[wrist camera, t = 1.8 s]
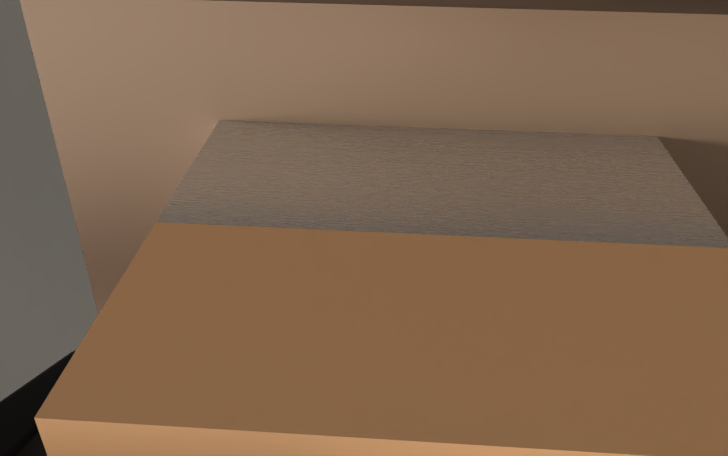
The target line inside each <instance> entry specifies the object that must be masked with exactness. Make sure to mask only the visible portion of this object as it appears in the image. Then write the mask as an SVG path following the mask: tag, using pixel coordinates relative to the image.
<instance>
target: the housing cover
mask: <svg viewBox="0 0 728 456" xmlns="http://www.w3.org/2000/svg"><path fill="white" fill-rule="evenodd" d="M34 419H35V422H36V425H37V428H38V430H39V433H40V436H41V439H42V442H43V445H44V448H45V450H46V453H47V456H728V248H717V247H695V246H672V245H650V244H628V243H606V242H584V241H562V240H540V239H518V238H496V237H473V236H451V235H429V234H407V233H385V232H363V231H341V230H319V229H297V228H274V227H252V226H230V225H208V224H186V223H164V222H156V223H155V224H154V226H153V227H152V229H151V231H150V232H149V234H148V235H147V237H146V239H145V240H144V242H143V243H142V245H141V247H140V248H139V250H138V251H137V253H136V255H135V256H134V258H133V260H132V261H131V263H130V264H129V266H128V268H127V269H126V271H125V272H124V274H123V276H122V277H121V279H120V280H119V282H118V284H117V285H116V287H115V289H114V290H113V292H112V293H111V295H110V297H109V298H108V300H107V301H106V303H105V305H104V306H103V308H102V309H101V311H100V313H99V314H98V316H97V317H96V319H95V321H94V322H93V324H92V326H91V327H90V329H89V330H88V332H87V334H86V335H85V337H84V338H83V340H82V342H81V343H80V345H79V346H78V348H77V350H76V351H75V353H74V355H73V356H72V358H71V359H70V361H69V363H68V364H67V366H66V367H65V369H64V371H63V372H62V374H61V375H60V377H59V379H58V380H57V382H56V383H55V385H54V387H53V388H52V390H51V392H50V393H49V395H48V396H47V398H46V400H45V401H44V403H43V404H42V406H41V408H40V409H39V411H38V412H37V414H36V416H35V417H34Z"/></svg>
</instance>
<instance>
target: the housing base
mask: <svg viewBox="0 0 728 456" xmlns="http://www.w3.org/2000/svg"><path fill="white" fill-rule="evenodd" d="M156 222H164V223H186V224H208V225H230V226H252V227H274V228H297V229H319V230H341V231H363V232H385V233H407V234H429V235H451V236H473V237H496V238H518V239H540V240H562V241H584V242H606V243H628V244H650V245H672V246H695V247H717V248H728V238H727V236H726V235H725V233H724V232H723V230H722V229H721V227H720V226H719V225H718V223H717V222H716V220H715V219H714V217H713V216H712V215H711V213H710V212H709V210H708V209H707V207H706V206H705V204H704V203H703V202H702V200H701V199H700V197H699V196H698V194H697V193H696V192H695V190H694V189H693V187H692V186H691V184H690V183H689V181H688V180H687V179H686V177H685V176H684V174H683V173H682V171H681V170H680V169H679V167H678V166H677V164H676V163H675V161H674V160H673V158H672V157H671V156H670V154H669V153H668V151H667V150H666V148H665V147H664V146H663V144H662V143H661V141H660V140H659V138H658V137H657V136H635V135H608V134H581V133H554V132H527V131H500V130H473V129H446V128H419V127H392V126H365V125H338V124H311V123H283V122H256V121H229V120H219V121H218V123H217V124H216V126H215V128H214V129H213V131H212V132H211V134H210V136H209V137H208V139H207V140H206V142H205V144H204V145H203V147H202V148H201V150H200V152H199V153H198V155H197V157H196V158H195V160H194V161H193V163H192V165H191V166H190V168H189V169H188V171H187V173H186V174H185V176H184V177H183V179H182V181H181V182H180V184H179V185H178V187H177V189H176V190H175V192H174V194H173V195H172V197H171V198H170V200H169V202H168V203H167V205H166V206H165V208H164V210H163V211H162V213H161V214H160V216H159V218H158V219H157V221H156Z"/></svg>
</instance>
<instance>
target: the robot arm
mask: <svg viewBox="0 0 728 456" xmlns="http://www.w3.org/2000/svg"><path fill="white" fill-rule="evenodd" d="M75 351H76V350H75ZM75 351H73V352H71V353H70V354H68V355H67V356H65V357H64V358H62V359H61V360H59V361H58V362H57V363H55V364H54V365H52V366H51V367H49V368H48V369H47V370H45V371H44V372H42V373H41V374H39V375H38V376H36V377H35V378H34V379H32V380H31V381H29V382H28V383H26V384H25V385H24V386H22V387H21V388H19V389H18V390H16V391H15V392H14V393H12V394H11V395H9V396H8V397H6V398H5V399H3V400H2V401H1V402H0V456H47V453H46V450H45V448H44V445H43V442H42V439H41V436H40V433H39V430H38V428H37V425H36V422H35V419H34V417H35V416H36V414H37V412H38V411H39V409H40V408H41V406H42V404H43V403H44V401H45V400H46V398H47V396H48V395H49V393H50V392H51V390H52V388H53V387H54V385H55V383H56V382H57V380H58V379H59V377H60V375H61V374H62V372H63V371H64V369H65V367H66V366H67V364H68V363H69V361H70V359H71V358H72V356H73V355H74V353H75Z"/></svg>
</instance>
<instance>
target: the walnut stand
mask: <svg viewBox="0 0 728 456" xmlns="http://www.w3.org/2000/svg"><path fill="white" fill-rule="evenodd" d="M20 3H21V7H22V11H23V15H24V19H25V23H26V27H27V31H28V35H29V39H30V43H31V47H32V51H33V55H34V59H35V63H36V67H37V71H38V75H39V79H40V83H41V87H42V91H43V95H44V99H45V103H46V107H47V111H48V115H49V119H50V123H51V127H52V131H53V135H54V139H55V143H56V147H57V151H58V155H59V159H60V163H61V167H62V171H63V175H64V179H65V183H66V187H67V191H68V195H69V198H70V202H71V206H72V210H73V214H74V218H75V222H76V226H77V230H78V234H79V238H80V242H81V246H82V250H83V254H84V258H85V262H86V266H87V270H88V274H89V278H90V282H91V286H92V290H93V294H94V298H95V302H96V306H97V310H98V314H99V313H100V311H101V309H102V308H103V306H104V305H105V303H106V301H107V300H108V298H109V297H110V295H111V293H112V292H113V290H114V289H115V287H116V285H117V284H118V282H119V280H120V279H121V277H122V276H123V274H124V272H125V271H126V269H127V268H128V266H129V264H130V263H131V261H132V260H133V258H134V256H135V255H136V253H137V251H138V250H139V248H140V247H141V245H142V243H143V242H144V240H145V239H146V237H147V235H148V234H149V232H150V231H151V229H152V227H153V226H154V224H155V223H156V221H157V219H158V218H159V216H160V214H161V213H162V211H163V210H164V208H165V206H166V205H167V203H168V202H169V200H170V198H171V197H172V195H173V194H174V192H175V190H176V189H177V187H178V185H179V184H180V182H181V181H182V179H183V177H184V176H185V174H186V173H187V171H188V169H189V168H190V166H191V165H192V163H193V161H194V160H195V158H196V157H197V155H198V153H199V152H200V150H201V148H202V147H203V145H204V144H205V142H206V140H207V139H208V137H209V136H210V134H211V132H212V131H213V129H214V128H215V126H216V124H217V123H218V121H219V120H229V121H256V122H283V123H311V124H338V125H365V126H392V127H419V128H446V129H473V130H500V131H527V132H554V133H581V134H608V135H635V136H657V137H658V138H659V140H660V141H661V143H662V144H663V146H664V147H665V148H666V150H667V151H668V153H669V154H670V156H671V157H672V158H673V160H674V161H675V163H676V164H677V166H678V167H679V169H680V170H681V171H682V173H683V174H684V176H685V177H686V179H687V180H688V181H689V183H690V184H691V186H692V187H693V189H694V190H695V192H696V193H697V194H698V196H699V197H700V199H701V200H702V202H703V203H704V204H705V206H706V207H707V209H708V210H709V212H710V213H711V215H712V216H713V217H714V219H715V220H716V222H717V223H718V225H719V226H720V227H721V229H722V230H723V232H724V233H725V235H726V236H727V238H728V0H20Z"/></svg>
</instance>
